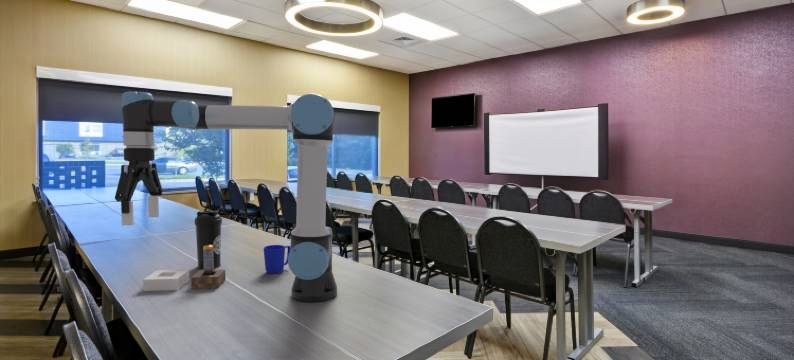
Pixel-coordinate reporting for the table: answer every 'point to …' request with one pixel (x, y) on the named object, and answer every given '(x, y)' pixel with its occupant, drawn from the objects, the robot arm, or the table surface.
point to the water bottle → (208, 235)
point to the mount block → (208, 279)
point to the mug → (275, 258)
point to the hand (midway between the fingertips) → (141, 221)
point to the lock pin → (208, 260)
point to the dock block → (166, 280)
